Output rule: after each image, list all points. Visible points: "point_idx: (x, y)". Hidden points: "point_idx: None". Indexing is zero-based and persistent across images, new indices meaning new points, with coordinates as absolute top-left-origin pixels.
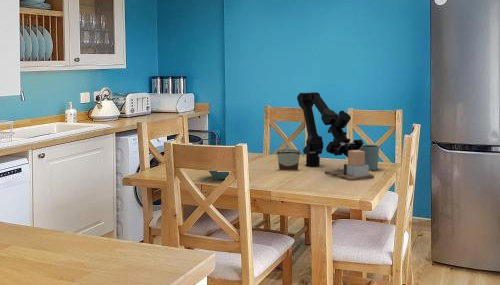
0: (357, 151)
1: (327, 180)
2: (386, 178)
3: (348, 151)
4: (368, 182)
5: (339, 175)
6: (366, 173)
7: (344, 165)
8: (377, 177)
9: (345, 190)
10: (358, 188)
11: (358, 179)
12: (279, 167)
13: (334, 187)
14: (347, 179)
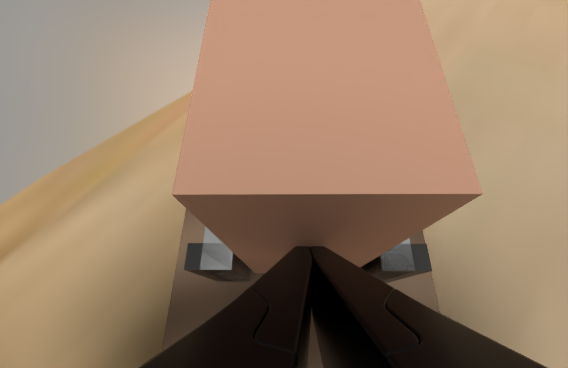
0: (334, 20)
1: (557, 237)
2: (149, 125)
3: (463, 195)
4: None
5: (432, 281)
6: None
7: (422, 258)
8: (167, 169)
9: (523, 13)
10: (445, 19)
11: None
12: None
13: (562, 68)
14: None
